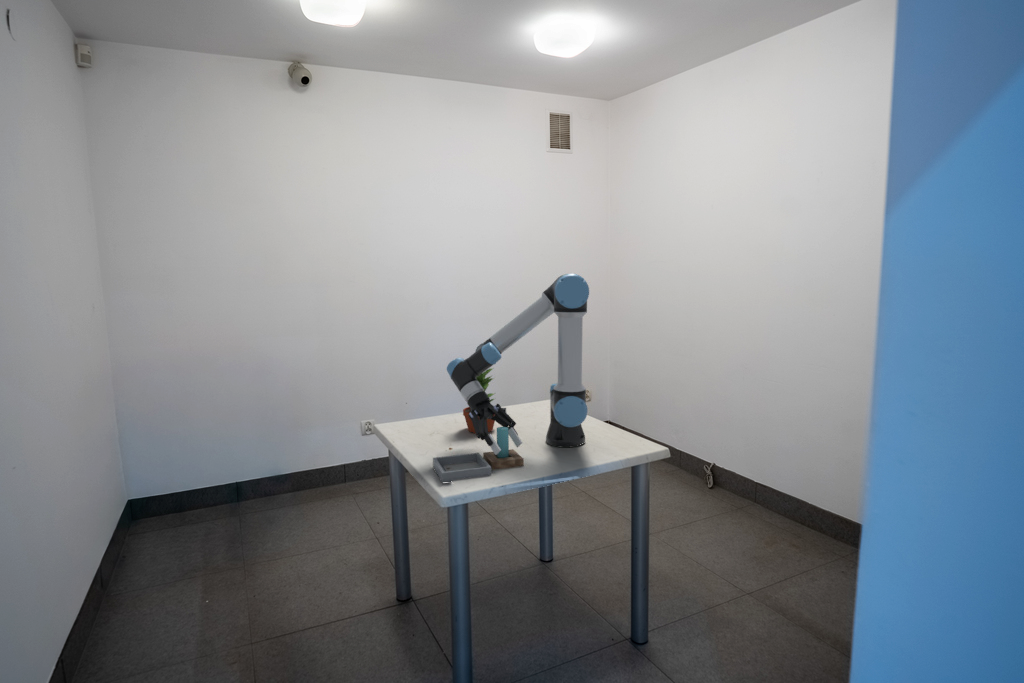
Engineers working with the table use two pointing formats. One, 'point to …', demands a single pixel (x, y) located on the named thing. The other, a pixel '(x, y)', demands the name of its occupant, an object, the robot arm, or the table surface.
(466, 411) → the potted plant
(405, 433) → the table surface
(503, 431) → the ball
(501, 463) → the hole block
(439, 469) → the tray
